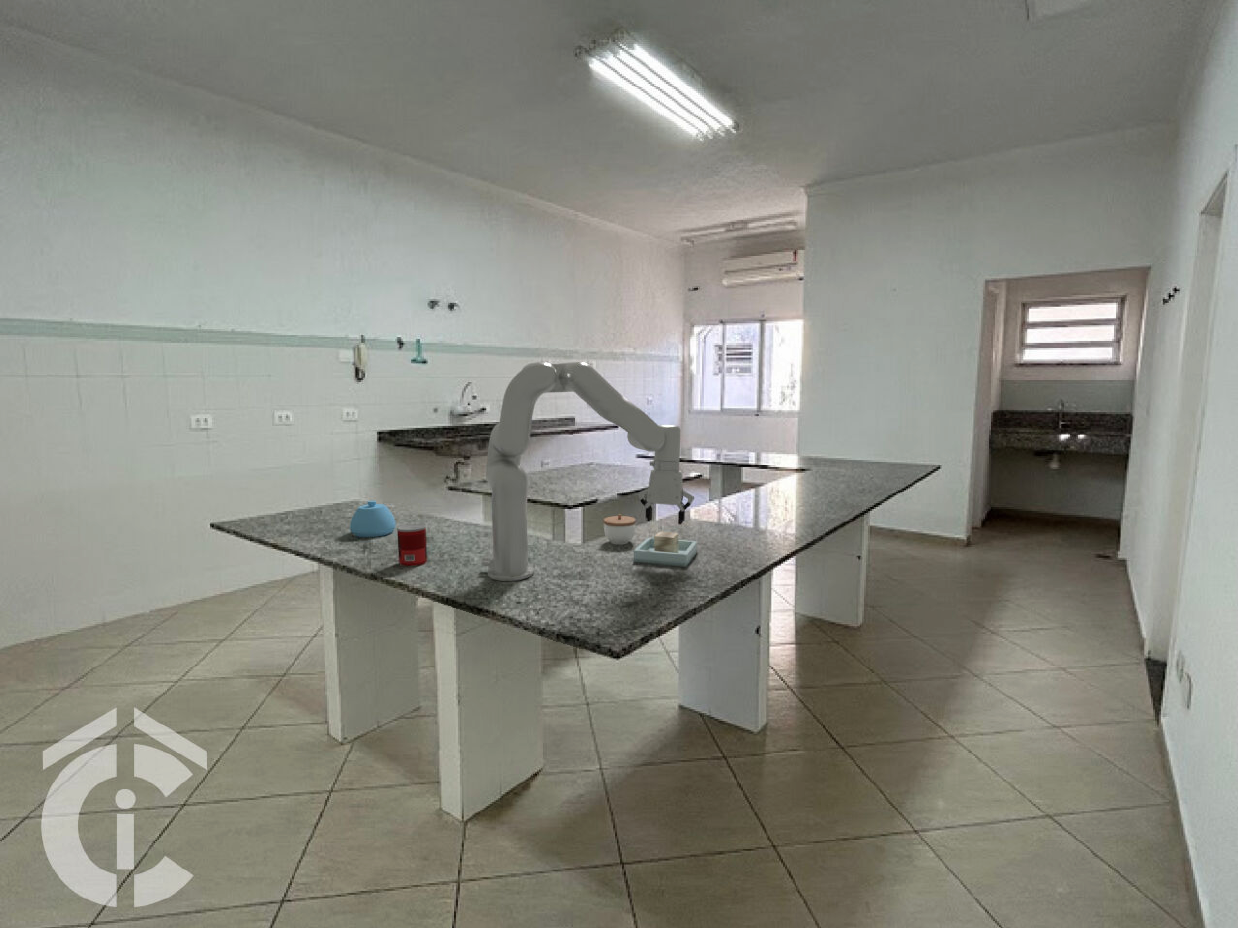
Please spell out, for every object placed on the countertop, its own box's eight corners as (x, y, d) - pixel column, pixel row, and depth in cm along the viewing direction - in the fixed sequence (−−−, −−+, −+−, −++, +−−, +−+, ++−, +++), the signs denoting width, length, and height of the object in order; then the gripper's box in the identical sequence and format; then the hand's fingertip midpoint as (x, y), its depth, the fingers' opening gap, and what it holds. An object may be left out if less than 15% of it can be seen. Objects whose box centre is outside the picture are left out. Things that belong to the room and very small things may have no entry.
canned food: (432, 562, 184) (430, 526, 182) (407, 568, 178) (405, 531, 177) (419, 557, 189) (417, 522, 188) (394, 563, 183) (392, 526, 182)
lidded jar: (618, 548, 199) (618, 519, 197) (597, 541, 207) (596, 514, 205) (642, 542, 206) (642, 514, 204) (621, 536, 214) (621, 509, 212)
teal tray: (633, 561, 184) (633, 550, 183) (648, 547, 199) (648, 537, 198) (686, 566, 179) (686, 555, 178) (697, 552, 194) (697, 541, 194)
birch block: (654, 555, 187) (654, 536, 186) (659, 550, 193) (659, 531, 192) (673, 557, 185) (673, 537, 184) (678, 551, 191) (678, 532, 190)
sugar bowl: (341, 537, 213) (339, 504, 212) (366, 527, 228) (364, 496, 226) (381, 539, 211) (379, 506, 209) (403, 528, 225) (402, 497, 224)
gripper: (635, 465, 184) (633, 521, 186) (692, 469, 179) (690, 527, 181) (642, 462, 191) (640, 517, 193) (697, 466, 186) (695, 522, 188)
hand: (664, 522), depth 187 cm, fingers open, 9 cm apart
